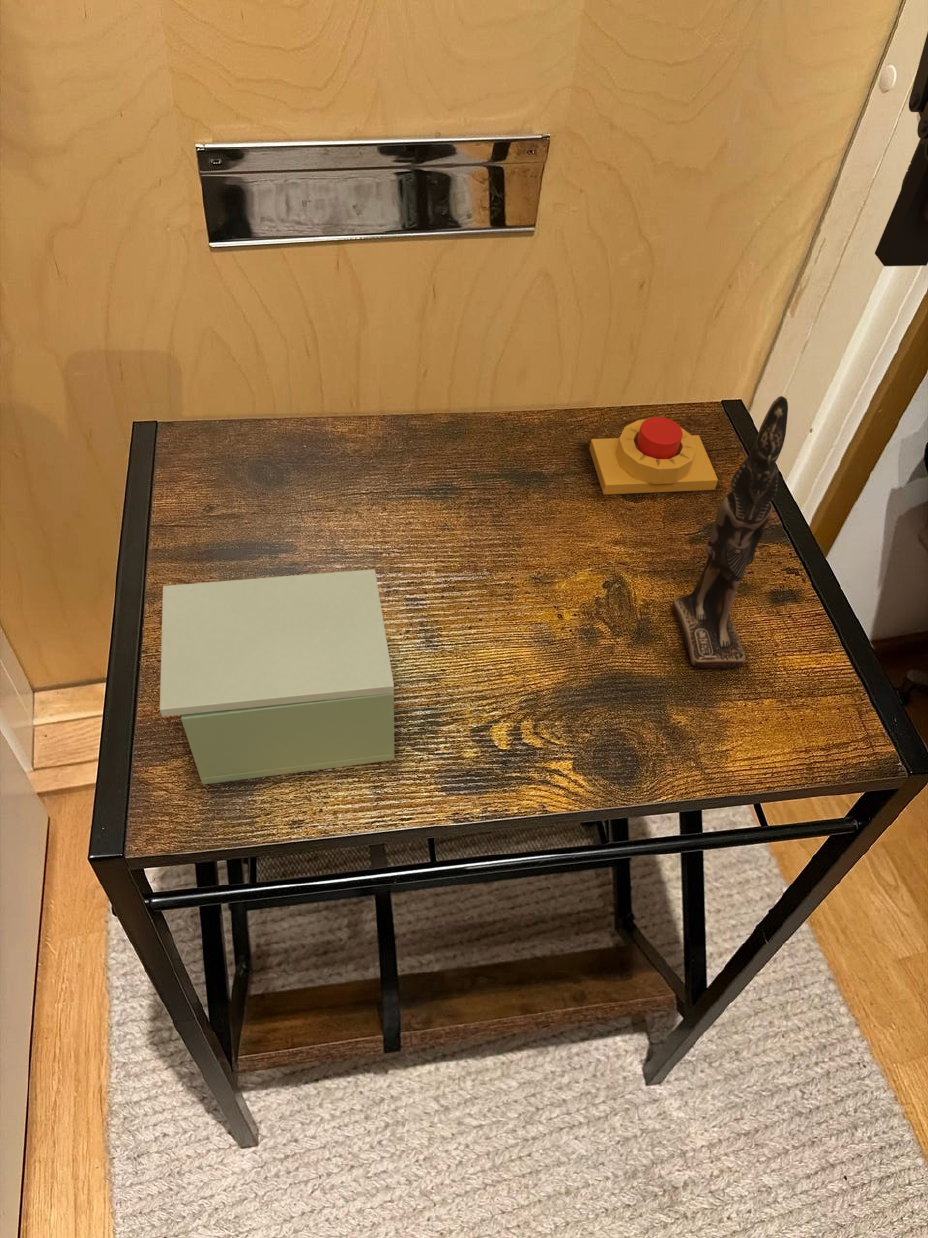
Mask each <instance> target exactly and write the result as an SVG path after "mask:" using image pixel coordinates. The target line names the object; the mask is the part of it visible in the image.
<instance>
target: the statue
mask: <svg viewBox="0 0 928 1238" xmlns="http://www.w3.org/2000/svg"><path fill="white" fill-rule="evenodd" d="M788 413H789V402H788V399H787V398H786V397H785V396H783V395H780V396H778V397H777V398H776V399H774V401H773V402H772V403H771V404H770V407H769V408H768V411H767V412H766V414H765V416H764V418H763V421H762V422H761V425H760V428H759V430H758V433H757V437H756V439H755V442H754V445H753V446H752V448H751V450H750V452H749V454H748V456H747V457H746V459H745V460H744V461H743V462H742V464H740V466H739V467H738V468H737V470H736V471H735V473H734V475H733V477H732V479H731V482H730V489H731V491H730V492H729V493H728V494H726V496H725V497H724V498H723V500H722V501H721V503H720V505H719V507H718V509H717V513H716V516H715V519H714V522H713V526H712V529H711V533H710V535H709V539H708V540H707V543H706V545H705V553H706V555H707V559H706V561H705V565H704V568H703V570H702V572H701V574H700V576H699V578H698V580H697V583H696V585H695V587H694V589H693V591H692V592H691V593H689V594H686V595H683V596H679V597H675V599H673V601H672V609H673V612H674V615H675V617H676V619H677V621H678V625H679V628H680V631H681V634H682V637H683V641H684V644H685V648H686V650H687V654H688V657H689V661H690V663H691V665H692V666H694V667H695V668H703V669H738V668H740V667H742V666H744V665H745V663H746V653H745V651H744V648H743V645H742V643H741V641H740V638H739V635H738V632H737V630H736V627H735V624H734V622H733V618H732V616H731V610H732V607H733V603H734V600H735V597H736V594H737V591H738V588H739V586H740V583H741V582H742V580H743V579H744V576H745V572H746V570H747V567H748V566H749V565H751V564H752V563H753V562H754V560H755V558H756V549H757V547H758V545H759V544H760V542H761V539H762V538H763V536H764V532H765V529H766V528H767V525H768V523H769V522H770V520H771V517H772V513H773V505H772V503H771V502H772V500H773V499H774V498H775V496H776V495H777V492H778V487H779V466H778V464H777V461H778V459H779V457H780V454H781V452H782V449H783V448H784V444H785V439H786V435H787V426H788V416H789V415H788Z"/></svg>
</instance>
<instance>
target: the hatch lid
mask: <svg viewBox="0 0 928 1238" xmlns="http://www.w3.org/2000/svg"><path fill="white" fill-rule="evenodd" d="M161 604H162V607H161V640H160V642H161V643H160V645H161V646H160V647H161V648H160V678H159V679H160V680H159V681H160V682H159V711H160V715H161V717H164V718H165V717H173V716H181V715H184V714H194V713H204V712H213V711H223V710H233V709H243V708H253V707H262V706H272V705H282V704H292V703H301V702H311V701H321V700H331V699H340V698H350V697H360V696H370V695H379V694H389V693H394V694H395V682H394V677H393V671H392V670H393V669H392V664H391V659H390V654H389V646H388V645H389V644H388V641H387V634H386V627H385V621H384V615H383V609H382V604H381V597H380V592H379V585H378V579H377V572H376V569H375V568H371V569H358V570H347V571H346V570H345V571H333V572H319V573H309V574H308V573H307V574H297V575H294V574H293V575H282V576H272V577H271V576H269V577H258V578H257V577H256V578H244V579H233V580H231V579H230V580H221V581H207V582H206V581H205V582H196V583H195V582H194V583H182V584H169V585H163V586H162V603H161Z"/></svg>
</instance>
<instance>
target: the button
mask: <svg viewBox="0 0 928 1238" xmlns="http://www.w3.org/2000/svg"><path fill="white" fill-rule="evenodd" d="M644 420H645V419H644ZM681 428H682V427H681V426H680V425H679V424H678V423H677V422H676V421H674V420H672V419H670V418H667V417H662V416H653V417H649V418H647V420H645V421H644V422H643V423H642V424H641V427H640V431H639V435H638V439H637V447H638V449H639V450H640V452H641V453H643V454H644V455H646V456H649V457H652V458H655V459H669V458H672V457H673V456H675V455H676V454H677V452H678V449H679V445H680V442H681V439H682V435H683V432H682V429H683V428H682V429H681Z"/></svg>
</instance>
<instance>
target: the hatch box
mask: <svg viewBox="0 0 928 1238" xmlns="http://www.w3.org/2000/svg"><path fill="white" fill-rule="evenodd" d="M180 721H181V724H182V726H183V729H184V733H185V735H186V739H187V742H188V746H189V748H190V752H191V754H192V758H193V760H194V763H195V767H196V770H197V772H198V776H199V778H200V782H201V785H211V784H218V783H227V782H233V781H241V780H250V779H257V778H258V779H259V778H266V777H273V776H281V775H289V774H297V773H305V772H312V771H320V770H328V769H334V768H345V767H353V766H358V765H366V764H375V763H383V762H390V761H394V760H395V692H394V693H389V694H379V695H370V696H360V697H350V698H340V699H331V700H321V701H311V702H301V703H292V704H282V705H272V706H262V707H253V708H243V709H233V710H223V711H213V712H204V713H194V714H184V715H180Z"/></svg>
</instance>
